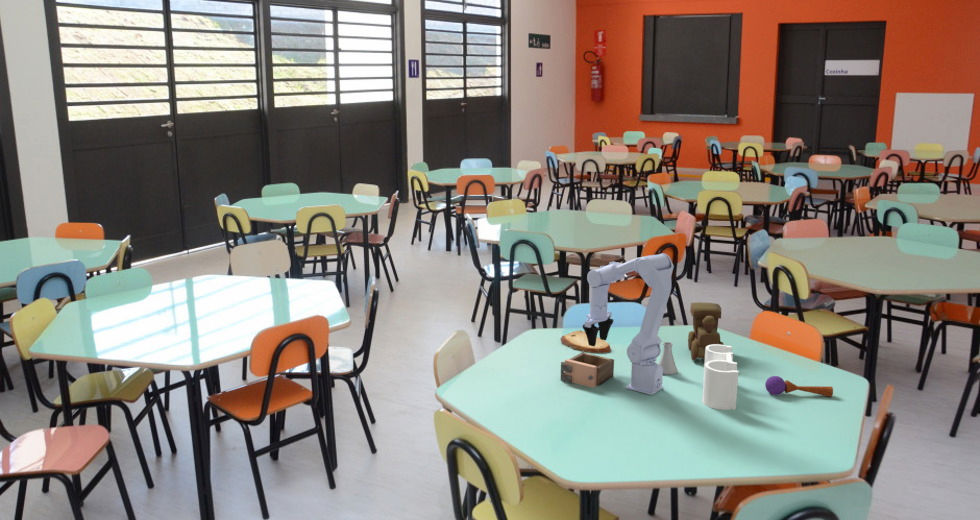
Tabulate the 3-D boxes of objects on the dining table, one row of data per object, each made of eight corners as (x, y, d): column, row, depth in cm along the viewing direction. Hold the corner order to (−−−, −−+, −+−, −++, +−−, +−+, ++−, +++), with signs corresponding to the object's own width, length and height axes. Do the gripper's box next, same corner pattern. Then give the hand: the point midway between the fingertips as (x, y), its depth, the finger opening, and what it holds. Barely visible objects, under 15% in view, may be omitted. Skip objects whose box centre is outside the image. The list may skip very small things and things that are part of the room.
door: (596, 386, 263) (596, 366, 261) (592, 389, 261) (592, 368, 259) (566, 378, 269) (567, 358, 268) (563, 381, 267) (563, 360, 266)
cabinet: (613, 376, 271) (614, 359, 269) (593, 388, 261) (594, 371, 259) (578, 367, 279) (579, 351, 277) (558, 379, 268) (558, 362, 267)
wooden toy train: (685, 345, 301) (688, 301, 297) (717, 346, 300) (720, 302, 296) (691, 364, 282) (694, 318, 278) (725, 365, 281) (728, 319, 277)
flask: (676, 368, 279) (677, 340, 276) (678, 375, 272) (680, 347, 269) (654, 367, 279) (655, 339, 277) (656, 375, 272) (658, 346, 270)
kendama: (836, 389, 250) (769, 381, 252) (831, 405, 253) (765, 397, 255) (831, 378, 256) (765, 371, 258) (826, 394, 258) (762, 387, 260)
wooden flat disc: (612, 354, 293) (612, 344, 292) (561, 353, 294) (562, 343, 293) (607, 337, 310) (607, 328, 309) (560, 337, 311) (560, 328, 310)
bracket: (700, 378, 270) (702, 343, 267) (731, 380, 268) (733, 345, 265) (702, 408, 246) (705, 370, 243) (736, 411, 244) (739, 373, 241)
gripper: (599, 297, 280) (597, 334, 284) (577, 306, 269) (576, 345, 272) (617, 300, 276) (616, 338, 279) (595, 310, 265) (594, 350, 268)
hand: (597, 342), depth 276 cm, fingers open, 7 cm apart
